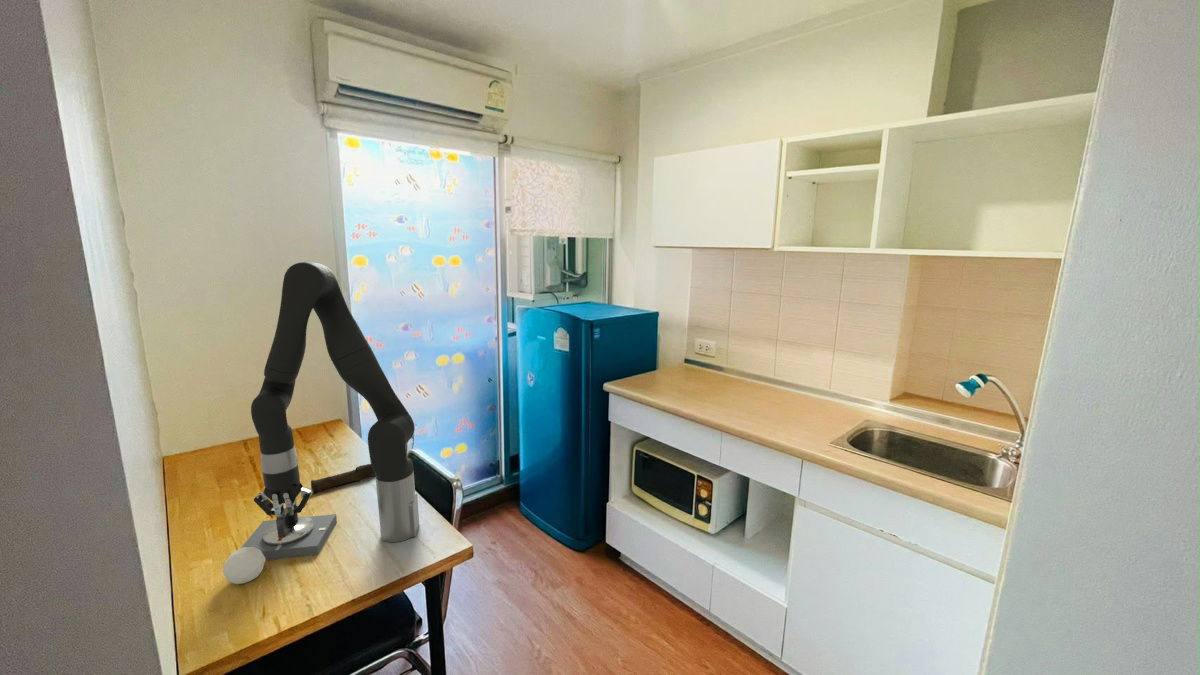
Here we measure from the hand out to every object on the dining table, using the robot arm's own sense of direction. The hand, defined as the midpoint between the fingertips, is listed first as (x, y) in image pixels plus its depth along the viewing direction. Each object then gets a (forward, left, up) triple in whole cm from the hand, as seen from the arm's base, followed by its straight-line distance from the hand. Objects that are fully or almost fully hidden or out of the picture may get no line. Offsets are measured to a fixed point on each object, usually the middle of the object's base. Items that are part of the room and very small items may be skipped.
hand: (288, 526), depth 122 cm
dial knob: (0, 0, -1) cm, 1 cm away
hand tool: (-4, -30, -5) cm, 31 cm away
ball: (+4, +13, -4) cm, 15 cm away
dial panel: (0, 0, -4) cm, 4 cm away
